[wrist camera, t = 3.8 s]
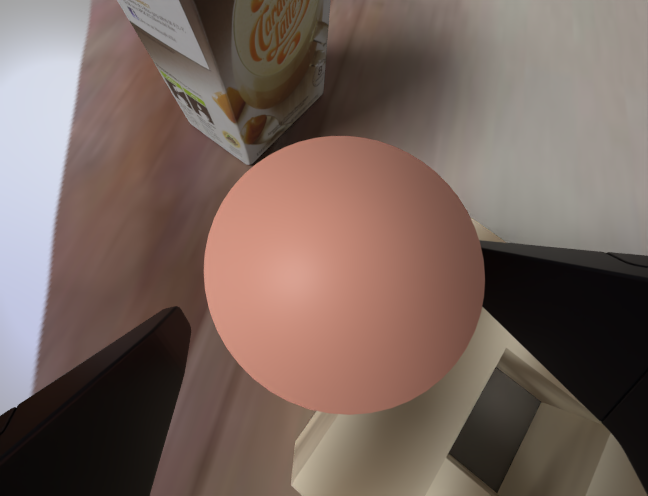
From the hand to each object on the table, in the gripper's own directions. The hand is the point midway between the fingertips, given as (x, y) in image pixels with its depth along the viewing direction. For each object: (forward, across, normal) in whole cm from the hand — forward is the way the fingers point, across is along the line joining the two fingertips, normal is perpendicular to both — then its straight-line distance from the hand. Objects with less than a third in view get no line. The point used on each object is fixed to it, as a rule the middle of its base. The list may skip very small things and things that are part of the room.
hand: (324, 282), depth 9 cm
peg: (+6, 0, -7) cm, 9 cm away
